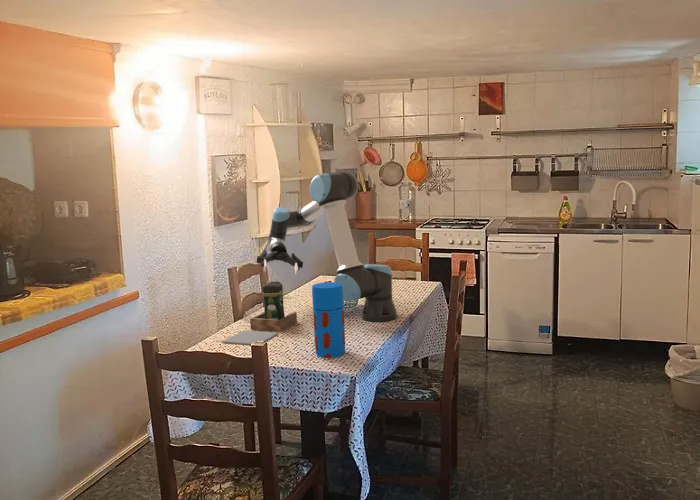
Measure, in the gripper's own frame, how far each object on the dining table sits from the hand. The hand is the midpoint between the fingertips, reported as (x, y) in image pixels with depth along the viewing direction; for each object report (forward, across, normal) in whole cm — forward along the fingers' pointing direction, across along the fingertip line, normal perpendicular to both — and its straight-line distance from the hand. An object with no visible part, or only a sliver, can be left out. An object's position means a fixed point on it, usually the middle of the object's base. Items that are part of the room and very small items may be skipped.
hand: (281, 270), depth 286 cm
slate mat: (+28, +11, -17) cm, 35 cm away
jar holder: (+12, 0, -20) cm, 23 cm away
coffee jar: (+12, 0, -20) cm, 24 cm away
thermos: (+55, -15, -4) cm, 57 cm away
